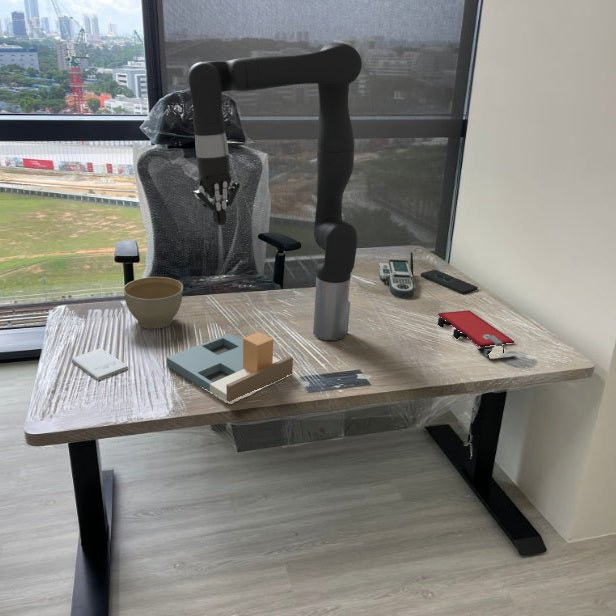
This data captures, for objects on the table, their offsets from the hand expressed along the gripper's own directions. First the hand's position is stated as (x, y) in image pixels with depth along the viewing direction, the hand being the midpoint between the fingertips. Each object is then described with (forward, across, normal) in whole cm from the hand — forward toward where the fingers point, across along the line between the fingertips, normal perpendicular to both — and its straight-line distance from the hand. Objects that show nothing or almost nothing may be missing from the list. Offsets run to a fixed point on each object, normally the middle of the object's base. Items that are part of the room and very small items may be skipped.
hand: (220, 224), depth 148 cm
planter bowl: (+31, -10, +24) cm, 40 cm away
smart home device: (+41, +86, -11) cm, 95 cm away
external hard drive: (+31, -33, +11) cm, 46 cm away
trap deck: (+33, -10, -11) cm, 36 cm away
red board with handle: (+41, +56, -40) cm, 80 cm away
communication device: (+39, +70, -1) cm, 80 cm away
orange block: (+31, -7, -18) cm, 37 cm away
